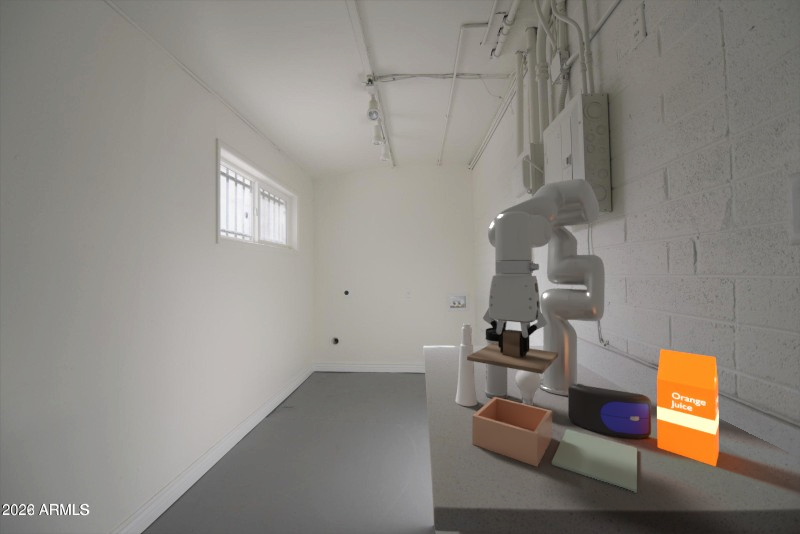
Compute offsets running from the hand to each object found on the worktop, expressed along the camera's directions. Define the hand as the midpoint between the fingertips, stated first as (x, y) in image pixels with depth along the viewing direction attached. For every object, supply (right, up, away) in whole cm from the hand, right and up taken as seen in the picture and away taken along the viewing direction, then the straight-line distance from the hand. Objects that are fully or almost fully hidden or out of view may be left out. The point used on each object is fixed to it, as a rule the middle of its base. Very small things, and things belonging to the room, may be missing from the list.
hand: (513, 352), depth 69 cm
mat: (+14, -19, -6) cm, 25 cm away
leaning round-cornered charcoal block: (+24, -20, +5) cm, 31 cm away
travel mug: (+4, -20, +25) cm, 32 cm away
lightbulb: (+9, -20, +16) cm, 27 cm away
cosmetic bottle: (-6, -20, +20) cm, 29 cm away
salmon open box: (0, -19, -1) cm, 19 cm away
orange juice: (+35, -20, -3) cm, 40 cm away
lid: (0, -2, 0) cm, 2 cm away
